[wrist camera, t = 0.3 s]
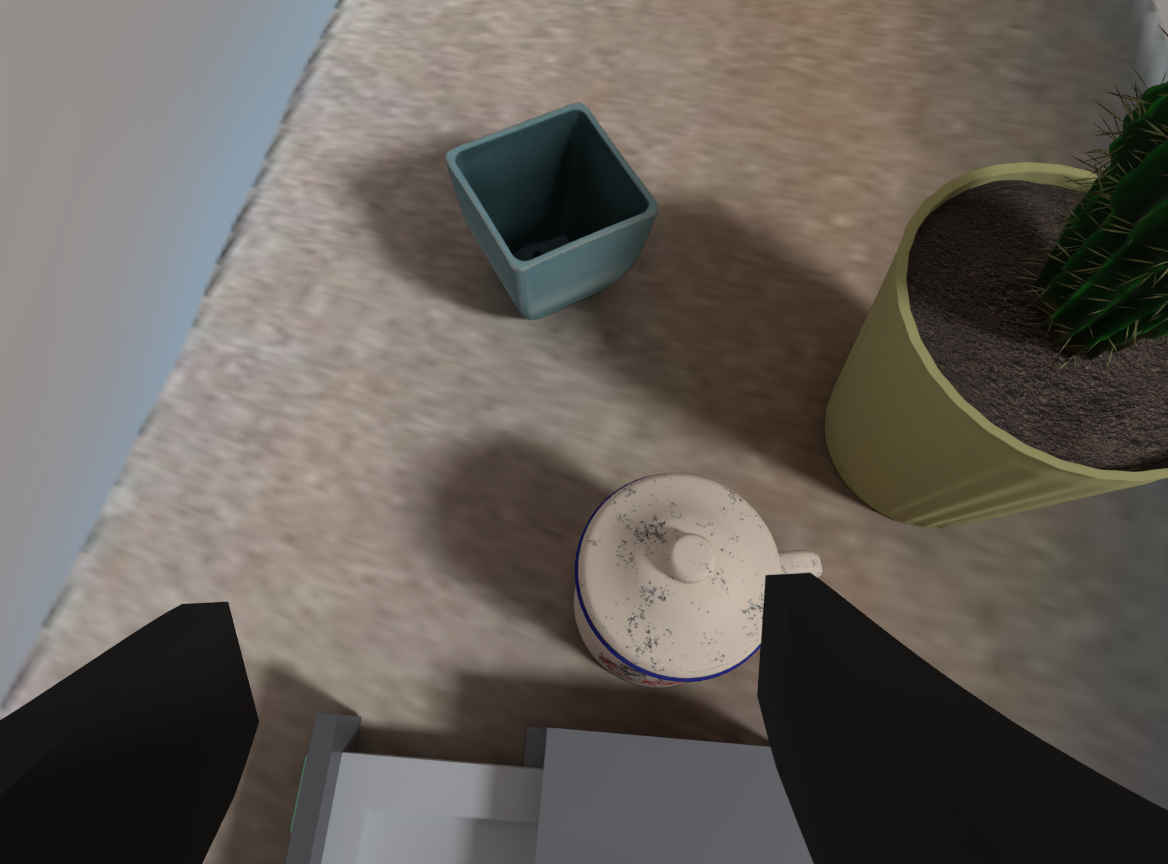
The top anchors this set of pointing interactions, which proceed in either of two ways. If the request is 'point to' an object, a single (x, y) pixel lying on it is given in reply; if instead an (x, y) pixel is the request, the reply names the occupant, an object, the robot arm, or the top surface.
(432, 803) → the tray
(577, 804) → the grey drawer box
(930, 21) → the top surface
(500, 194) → the flower pot
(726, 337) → the top surface
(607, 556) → the cream lidded canister
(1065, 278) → the potted cactus
